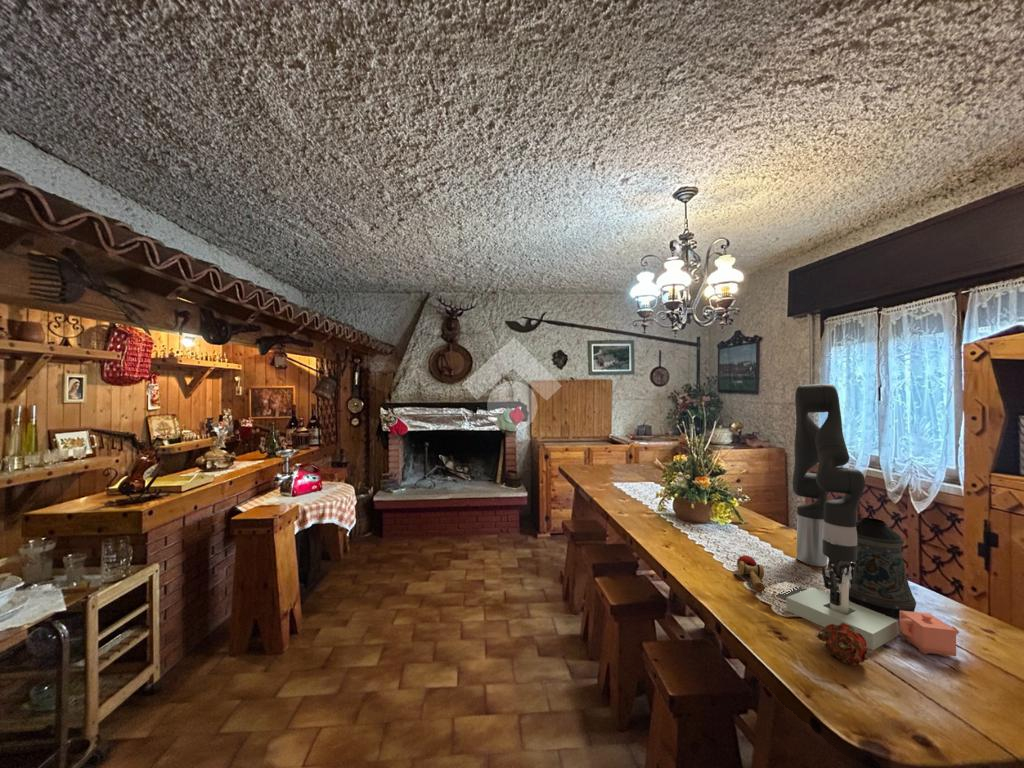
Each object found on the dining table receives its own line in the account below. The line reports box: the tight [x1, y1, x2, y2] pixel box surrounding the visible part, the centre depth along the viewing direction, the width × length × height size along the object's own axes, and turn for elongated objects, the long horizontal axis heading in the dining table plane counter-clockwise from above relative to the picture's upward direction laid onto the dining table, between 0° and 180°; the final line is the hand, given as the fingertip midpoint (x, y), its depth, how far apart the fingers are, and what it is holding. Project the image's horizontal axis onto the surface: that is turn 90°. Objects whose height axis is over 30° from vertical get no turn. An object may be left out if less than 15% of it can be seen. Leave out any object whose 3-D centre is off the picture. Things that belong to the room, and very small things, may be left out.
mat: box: [775, 585, 808, 601], centre depth 129 cm, size 14×10×1 cm
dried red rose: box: [817, 623, 869, 666], centre depth 97 cm, size 8×8×12 cm
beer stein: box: [849, 517, 917, 619], centre depth 124 cm, size 16×19×25 cm
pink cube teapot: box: [898, 610, 960, 658], centre depth 102 cm, size 8×12×8 cm, turn 78°
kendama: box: [736, 554, 766, 593], centre depth 137 cm, size 8×6×18 cm
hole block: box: [785, 587, 899, 651], centre depth 112 cm, size 14×20×4 cm
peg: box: [830, 575, 850, 615], centre depth 113 cm, size 4×4×12 cm
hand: (839, 602), depth 112 cm, fingers closed on peg, 4 cm apart
